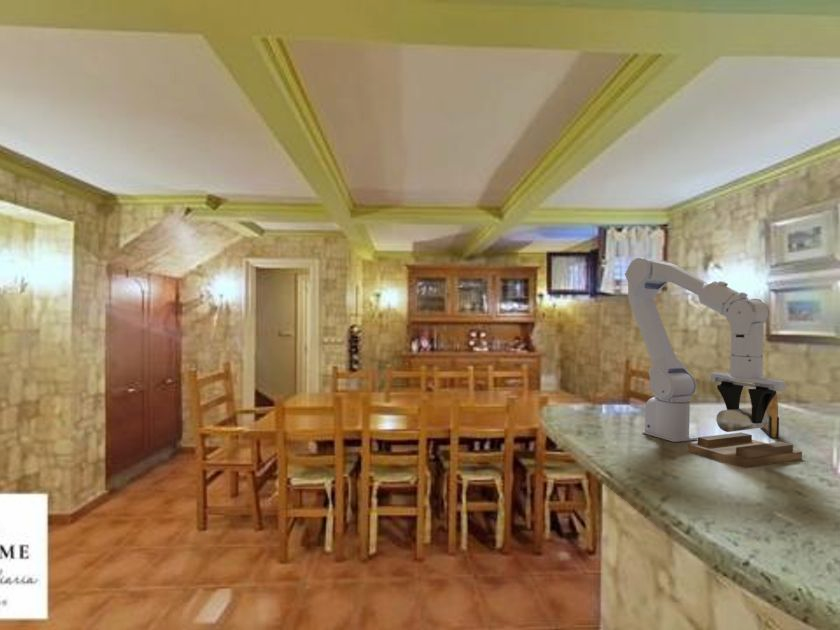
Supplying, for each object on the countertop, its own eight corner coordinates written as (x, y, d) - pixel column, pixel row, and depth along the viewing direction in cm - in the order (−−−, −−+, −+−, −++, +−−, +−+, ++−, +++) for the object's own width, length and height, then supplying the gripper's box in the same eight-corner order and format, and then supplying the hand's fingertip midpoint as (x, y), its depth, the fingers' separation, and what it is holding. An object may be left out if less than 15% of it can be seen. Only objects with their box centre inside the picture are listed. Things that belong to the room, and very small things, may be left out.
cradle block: (688, 451, 106) (688, 437, 106) (744, 444, 113) (744, 431, 113) (744, 468, 95) (744, 452, 94) (801, 459, 102) (802, 444, 101)
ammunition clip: (778, 438, 119) (780, 389, 118) (769, 437, 119) (770, 388, 119) (768, 429, 128) (769, 383, 128) (760, 428, 129) (761, 383, 129)
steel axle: (712, 416, 104) (728, 406, 101) (743, 413, 108) (759, 403, 105) (724, 435, 102) (741, 425, 98) (756, 431, 105) (773, 421, 102)
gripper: (701, 353, 109) (700, 414, 109) (770, 359, 95) (768, 429, 95) (723, 352, 111) (722, 412, 111) (793, 359, 98) (791, 427, 98)
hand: (745, 420), depth 103 cm, fingers closed on steel axle, 4 cm apart
